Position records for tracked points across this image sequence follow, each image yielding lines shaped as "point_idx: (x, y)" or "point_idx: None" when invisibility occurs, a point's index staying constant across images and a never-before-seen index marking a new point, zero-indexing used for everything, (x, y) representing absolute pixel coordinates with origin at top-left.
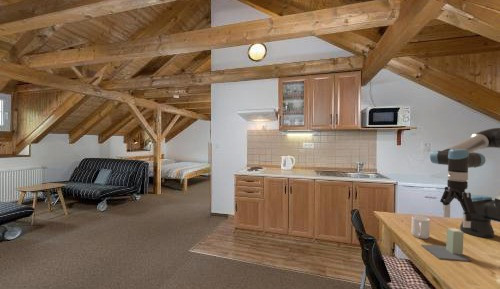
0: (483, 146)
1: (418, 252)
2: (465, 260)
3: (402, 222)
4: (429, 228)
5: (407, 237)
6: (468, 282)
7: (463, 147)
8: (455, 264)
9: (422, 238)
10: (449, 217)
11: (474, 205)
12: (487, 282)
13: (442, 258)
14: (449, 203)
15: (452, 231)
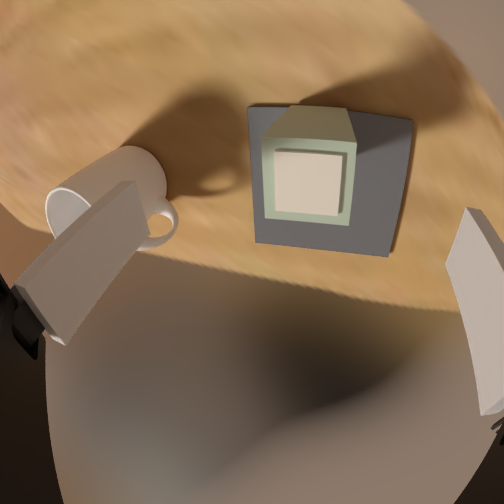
0: None
1: (330, 288)
2: (409, 148)
3: (32, 178)
4: (118, 172)
5: (177, 243)
6: None
7: None
8: (432, 219)
9: (166, 186)
10: (135, 185)
11: None
12: None
13: (391, 243)
14: (4, 314)
15: (334, 222)
